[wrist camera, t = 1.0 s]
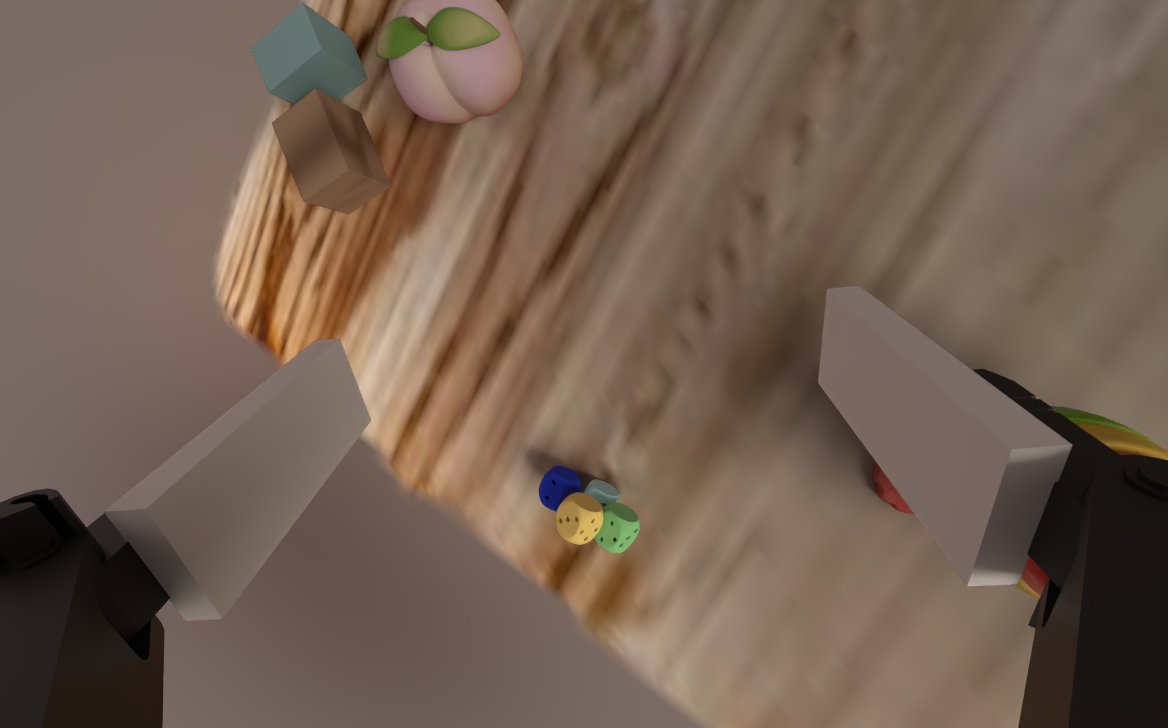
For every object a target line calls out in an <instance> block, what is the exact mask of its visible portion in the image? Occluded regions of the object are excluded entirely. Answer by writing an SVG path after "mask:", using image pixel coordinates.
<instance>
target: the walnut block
mask: <svg viewBox="0 0 1168 728" xmlns="http://www.w3.org/2000/svg"><path fill="white" fill-rule="evenodd" d="M272 125H273V128H274V130H275V133H276V135H277V138H278V140H279V143H280V145H281V148H282V150H283V152H284V155H285V157H286V160H287V162H288V165H289V167H290V170H291V172H292V175H293V177H294V180H295V182H296V185H297V187H298V189H299V192H300V194H301V197H302V199H303V202H307V203H310V204H314V205H318V206H321V207H325V208H328V209H332V210H336V211H339V212H343V213H347V214H350V213H352V212H353V211H355V210H356V209H358V208H359V207H361V206H362V205H364V204H365V203H367V202H368V201H370V200H371V199H373V198H374V197H376V196H377V195H379V194H380V193H382V192H383V191H385V190H386V189H388V188H389V187H391V184H390V182H389V180H388V177H387V175H386V172H385V170H384V168H383V165H382V163H381V160H380V158H379V156H378V153H377V151H376V148H375V146H374V144H373V141H372V139H371V136H370V134H369V132H368V129H367V127H366V124H365V122H364V120H363V117H362V115H361V113H359V112H357V111H356V110H354V109H352V108H350V107H348V106H347V105H345V104H343V103H341V102H339V101H337V100H336V99H334V98H332V97H330V96H328V95H326V94H325V93H323V92H321V91H319V90H317V89H314V90H313V91H311V92H310V93H309V94H308V95H306V96H305V97H304V98H303V99H301V100H300V101H299V102H298V103H296V104H295V105H294V106H293V107H291V108H290V109H289V110H288V111H286V112H285V113H284V114H282V115H281V116H280V117H279V118H277V119H276V120H275V121H274V122H272Z"/></svg>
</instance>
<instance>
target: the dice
mask: <svg viewBox="0 0 1168 728" xmlns="http://www.w3.org/2000/svg"><path fill="white" fill-rule="evenodd" d="M580 489H581V483H580V478H579V476H578V475H577V474H576V473H575V472H574V471H572V470H571V469H569V468H566V467H563V466H555V467H553V468H552V469H550V470H549V471H548V472H547V473H546V475H545V476H544V477H543V479H542V481H541V483H540V487H539V496H540V500H541V502H542V503H543V505H545V506H546V507H547V508H549V509H551V510H554V511H557V513H556V527H557V530H558V532H559V534H560V535H561V536H562V537H563V538H564V539H566V540H567V541H569V542H571V543H574V544H585V543H587V542H589V541H590V540H592V539H593V538H595V540H596V542H597V543H598V544H599V545H600V546H601V547H602V548H603V549H605V550H607V551H609V552H612V553H621V552H623V551H625V550H626V549H627V548H628V547H629V546H630V545H631V544H632V542H633V541H634V539H635V538H636V536H637V534H638V532H639V528H640V524H639V519H638V516H637V514H636V513H635V512H634V511H633V510H632V509H630V508H629V507H627V506H625V505H623V504H620V503H617V501H618V498H619V493H618V491H617V490H616V489H615V488H614V487H613V486H612V485H610V484H608V483H607V482H604V481H602V480H598V479H594V480H591V481H590V483H589V484H588V486H587V488H586V489H585V491H584V493H579V492H580Z"/></svg>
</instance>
